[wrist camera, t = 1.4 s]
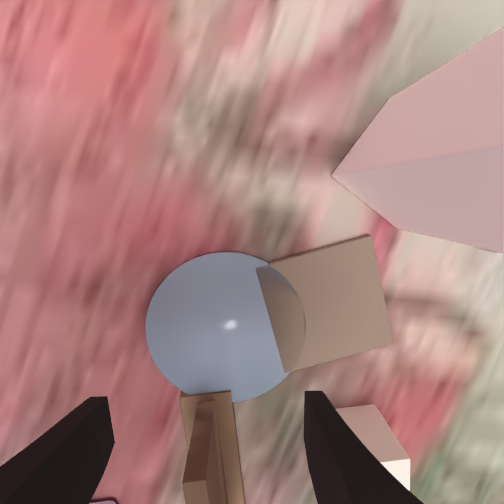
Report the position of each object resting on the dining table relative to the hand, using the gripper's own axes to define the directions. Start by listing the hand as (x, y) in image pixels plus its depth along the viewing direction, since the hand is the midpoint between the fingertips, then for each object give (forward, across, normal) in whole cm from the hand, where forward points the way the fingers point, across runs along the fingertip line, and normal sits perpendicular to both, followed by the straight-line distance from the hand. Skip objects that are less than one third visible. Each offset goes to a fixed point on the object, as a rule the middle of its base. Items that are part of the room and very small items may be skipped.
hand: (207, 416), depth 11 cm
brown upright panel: (+10, +1, +13) cm, 16 cm away
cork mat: (+11, -7, +1) cm, 13 cm away
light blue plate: (+10, 0, +2) cm, 11 cm away
